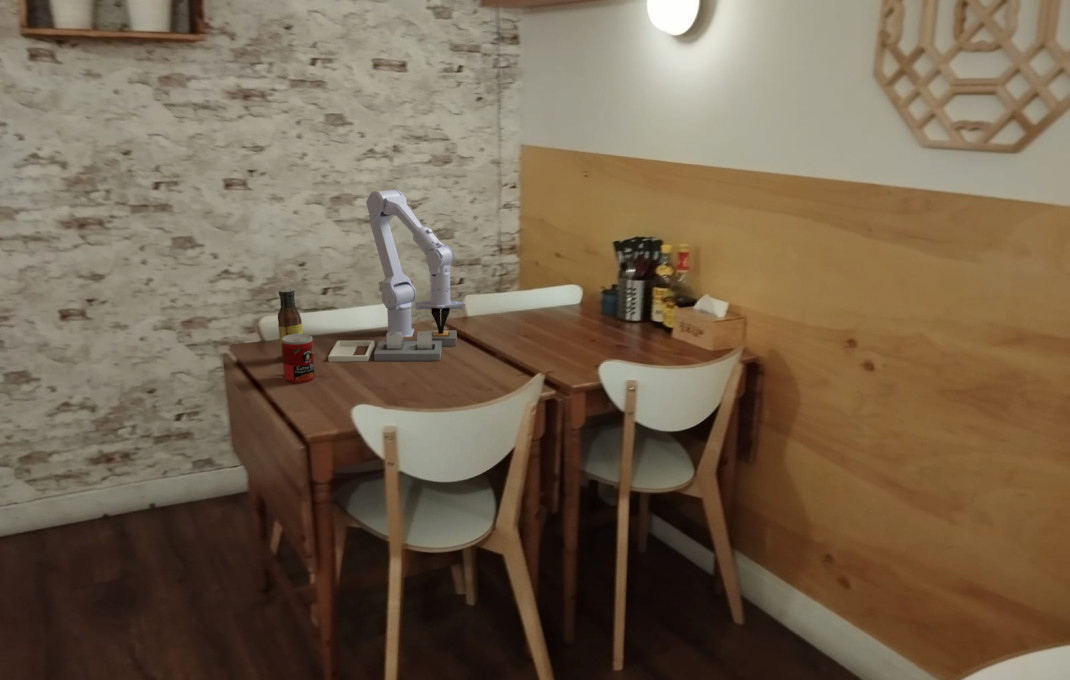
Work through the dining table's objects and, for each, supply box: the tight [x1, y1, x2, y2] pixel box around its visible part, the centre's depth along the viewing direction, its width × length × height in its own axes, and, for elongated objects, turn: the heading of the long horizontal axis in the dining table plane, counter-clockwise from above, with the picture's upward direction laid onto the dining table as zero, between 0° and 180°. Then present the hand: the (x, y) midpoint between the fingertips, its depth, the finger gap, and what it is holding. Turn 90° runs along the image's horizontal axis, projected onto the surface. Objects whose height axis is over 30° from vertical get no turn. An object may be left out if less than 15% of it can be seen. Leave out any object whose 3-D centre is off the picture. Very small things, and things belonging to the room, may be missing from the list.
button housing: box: [426, 329, 458, 347], centre depth 248 cm, size 9×9×3 cm
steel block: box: [386, 331, 404, 350], centre depth 234 cm, size 4×4×6 cm
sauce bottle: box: [277, 288, 304, 360], centre depth 227 cm, size 6×6×20 cm
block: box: [416, 330, 433, 350], centre depth 235 cm, size 4×4×6 cm
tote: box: [327, 340, 375, 363], centre depth 235 cm, size 16×11×2 cm
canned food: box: [281, 333, 316, 384], centre depth 213 cm, size 8×8×11 cm
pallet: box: [373, 340, 443, 362], centre depth 235 cm, size 13×18×3 cm
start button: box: [433, 331, 449, 337], centre depth 247 cm, size 4×4×3 cm
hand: (440, 332), depth 247 cm, fingers closed, pressing on start button
